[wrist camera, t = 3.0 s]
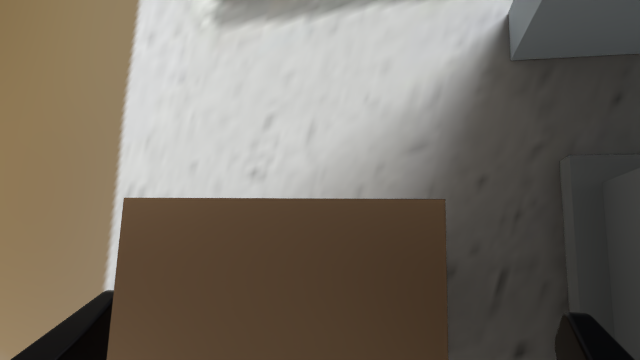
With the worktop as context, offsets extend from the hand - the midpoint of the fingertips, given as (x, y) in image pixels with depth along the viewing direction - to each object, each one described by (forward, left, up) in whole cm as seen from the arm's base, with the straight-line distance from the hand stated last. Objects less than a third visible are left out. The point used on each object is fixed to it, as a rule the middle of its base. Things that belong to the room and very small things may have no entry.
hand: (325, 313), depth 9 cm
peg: (0, 0, -8) cm, 8 cm away
